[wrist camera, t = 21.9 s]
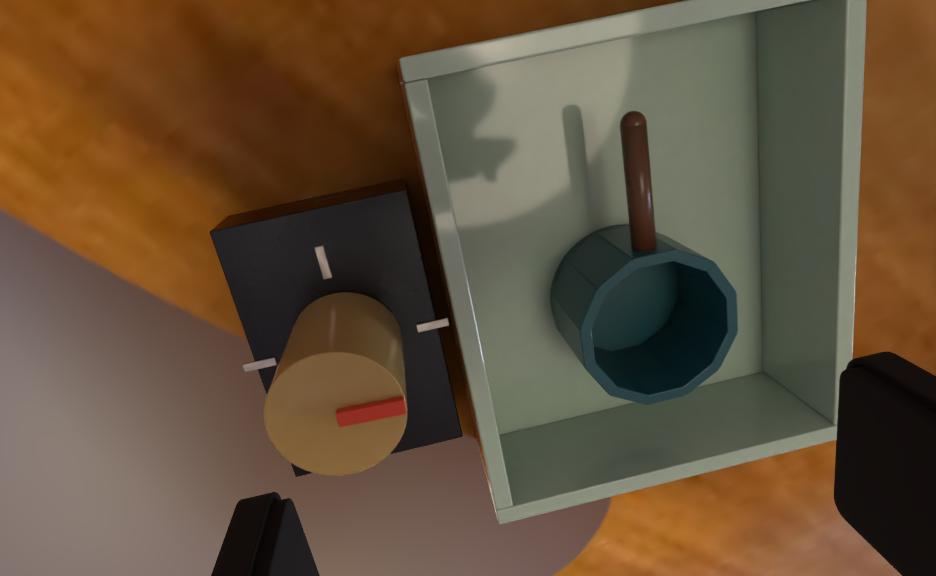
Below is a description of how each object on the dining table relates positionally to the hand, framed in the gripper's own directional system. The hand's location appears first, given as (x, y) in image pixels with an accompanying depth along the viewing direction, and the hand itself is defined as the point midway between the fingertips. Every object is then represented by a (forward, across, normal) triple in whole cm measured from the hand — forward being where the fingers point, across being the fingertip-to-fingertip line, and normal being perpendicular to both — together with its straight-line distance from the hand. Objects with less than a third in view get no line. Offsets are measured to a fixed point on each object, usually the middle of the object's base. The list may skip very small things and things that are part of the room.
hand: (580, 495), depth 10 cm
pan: (+19, -7, +2) cm, 20 cm away
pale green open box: (+19, -7, +2) cm, 21 cm away
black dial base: (+19, +6, +3) cm, 20 cm away
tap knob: (+16, +6, +3) cm, 17 cm away
